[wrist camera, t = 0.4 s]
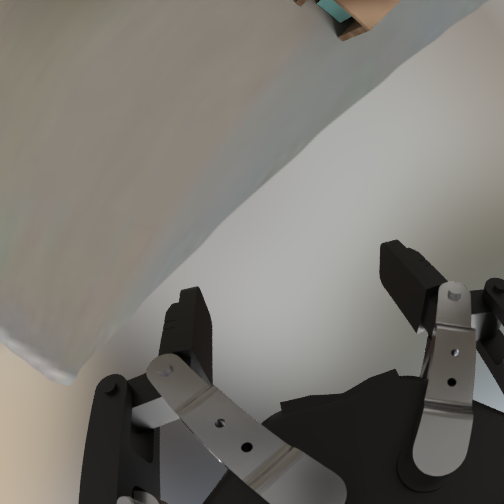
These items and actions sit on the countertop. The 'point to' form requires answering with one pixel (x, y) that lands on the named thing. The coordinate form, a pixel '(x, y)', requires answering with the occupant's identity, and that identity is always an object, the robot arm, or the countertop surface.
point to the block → (334, 10)
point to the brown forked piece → (362, 14)
